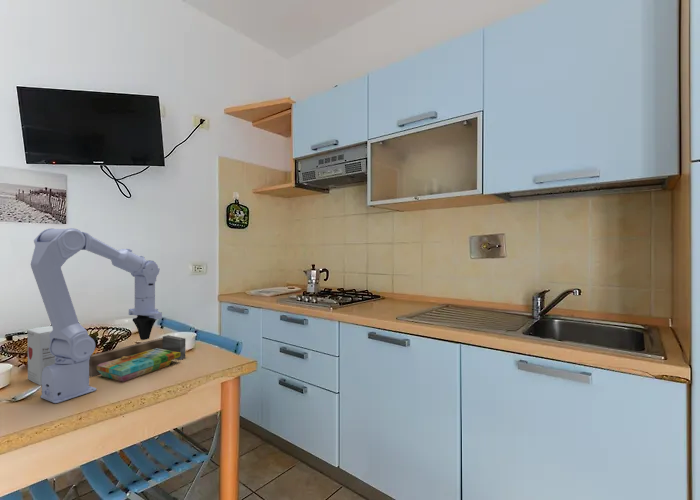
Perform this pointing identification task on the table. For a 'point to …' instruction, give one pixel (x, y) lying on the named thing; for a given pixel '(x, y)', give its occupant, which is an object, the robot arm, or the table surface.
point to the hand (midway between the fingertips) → (144, 339)
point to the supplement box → (39, 352)
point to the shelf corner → (137, 351)
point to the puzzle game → (137, 364)
